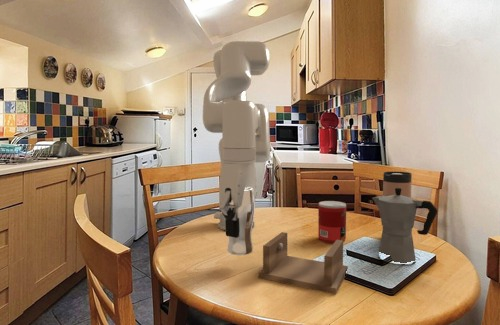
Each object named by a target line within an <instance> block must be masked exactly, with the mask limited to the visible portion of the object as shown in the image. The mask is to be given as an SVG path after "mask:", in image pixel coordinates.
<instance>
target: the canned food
mask: <svg viewBox="0 0 500 325" xmlns="http://www.w3.org/2000/svg"><path fill="white" fill-rule="evenodd" d="M317 217H318V228H317V230H318V232H317V233H318V240H320V241H322V242H324V243H327V244H334V242H335V241H336V240H343V243H344V242H345V241H346V239H347V204H346V202H344V201H343V202H342V201H335V200H324V201H319V202H318V215H317Z"/></svg>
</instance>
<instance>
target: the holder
mask: <svg viewBox="0 0 500 325" xmlns="http://www.w3.org/2000/svg"><path fill="white" fill-rule="evenodd" d="M323 258H324V260H323V261H319V260H314V259H308V258H303V257H297V256H291V255H288V232H285V231H282V232H280V233H278V234H277V235H275V237H273V238H272V239H270V240H269V241H267V242H266V243H265V244H263V246H262V269H260V270H259V271H258V272H257V278H259V279H263V280H267V281H271V282H277V283H281V284H286V285H291V286H296V287H300V288H303V289H304V288H305V289H309V290H314V291H319V292H323V293H328V294H333V295H337V294H338V291H339V290H340V288H341V285H342V283H343V282H344V280H345V278H346V276H345V273H346V271H347V269H348V270H349V266H347V265H344V242H343V240H336V241H335V242H334V243H332V244H331V246H330V248H329V249H328V250H327V252H326V253H325V254H324V257H323Z"/></svg>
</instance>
